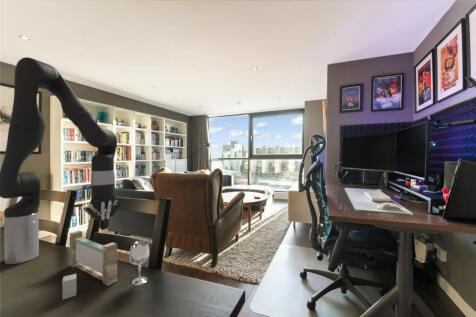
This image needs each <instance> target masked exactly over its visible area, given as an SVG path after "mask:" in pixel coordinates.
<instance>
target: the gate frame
mask: <svg viewBox="0 0 476 317" xmlns="http://www.w3.org/2000/svg"><path fill="white" fill-rule="evenodd" d="M80 237H82V238H83V231H82V230H76V231H72V232H69V266H70V267H71V268H77V269H79V270H81V271H83V272H84V273H87V274H89V276H90V275H91V276H93V277H94V278H97V280H100V281H102V282H103V283H102V284H103V285H105V286H107V287H109V286H111V285H112V284H114V283H116V282H118V244H117V243H115V242H110V243H107V244H105V245H104V244H103V275H102V274H101V273H99V272H97V271H95V270H93V269H91V268H89V267H87V266H85V265H83V264H81V263H79V262H76V238H80Z"/></svg>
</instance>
